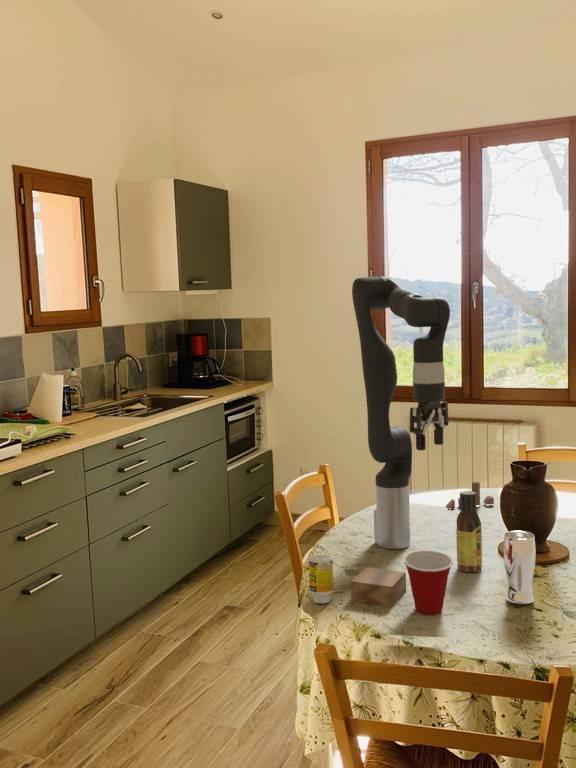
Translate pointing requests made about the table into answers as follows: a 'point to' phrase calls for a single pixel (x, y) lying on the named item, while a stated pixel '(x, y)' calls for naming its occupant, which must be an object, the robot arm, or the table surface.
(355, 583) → the walnut block
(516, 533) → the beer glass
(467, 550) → the sauce bottle
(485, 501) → the wood blocks
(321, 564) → the supplement bottle
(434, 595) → the plastic cup
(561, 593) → the table surface
